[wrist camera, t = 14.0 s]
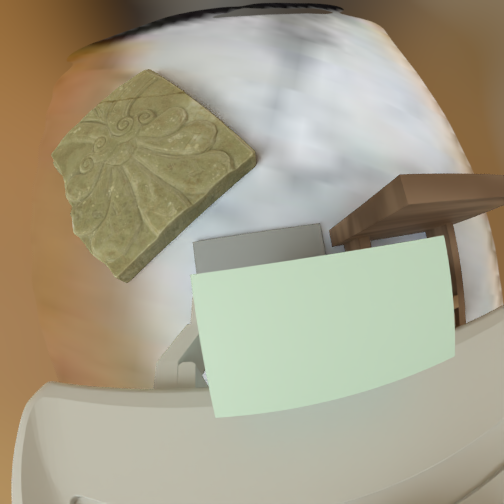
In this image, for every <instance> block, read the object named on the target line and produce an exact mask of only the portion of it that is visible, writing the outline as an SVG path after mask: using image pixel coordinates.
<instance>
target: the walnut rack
mask: <svg viewBox="0 0 504 504" xmlns="http://www.w3.org/2000/svg"><path fill="white" fill-rule="evenodd" d="M503 205H504V175H490V174H404V175H399V176H397V177H396V178H395V179H394V180H392V181H391V182H390V183H389V184H388V185H386V186H385V187H384V188H383V189H381V190H380V191H379V192H378V193H376V194H375V195H374V196H373V197H371V198H370V199H369V200H368V201H366V202H365V203H364V204H362V205H361V206H360V207H359V208H357V209H356V210H355V211H354V212H352V213H351V214H350V215H348V216H347V217H346V218H345V219H343V220H342V221H341V222H339V223H338V224H337V225H336V226H334V227H333V228H332V229H330V230H329V233H330V238H331V243H332V247H333V246H340V245H344V248H345V252H348V251H354V250H360V249H366V248H371V242H370V241H371V240H378V239H384V238H390V237H396V236H402V235H409V234H415V233H421V232H426V236H427V238H431V237H437V236H443V235H444V238H445V244H446V249H447V255H448V261H449V268H450V275H451V284H452V293H453V295H458V303H459V307H458V308H455V309H454V313H455V324H456V325H458V326H461V325H463V324H466V318H465V302H464V290H463V281H462V273H461V266H460V259H459V253H458V248H457V242H456V237H455V232H454V228H453V224H456V223H458V222H461V221H464V220H467V219H469V218H472V217H475V216H477V215H480V214H482V213H485V212H488V211H490V210H493V209H495V208H498V207H500V206H503Z"/></svg>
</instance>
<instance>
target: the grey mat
mask: <svg viewBox="0 0 504 504" xmlns="http://www.w3.org/2000/svg"><path fill="white" fill-rule="evenodd" d="M193 249H194V257H195V265H196V273H197V274H201V273H208V272H215V271H222V270H229V269H236V268H243V267H250V266H257V265H263V264H270V263H277V262H283V261H290V260H297V259H303V258H310V257H316V256H322V255H325V250H324V244H323V239H322V233H321V228H320V223H319V224H312V225H304V226H297V227H290V228H283V229H276V230H269V231H262V232H255V233H249V234H242V235H235V236H229V237H222V238H216V239H209V240H203V241H197V242H193Z"/></svg>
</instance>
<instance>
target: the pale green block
mask: <svg viewBox="0 0 504 504" xmlns="http://www.w3.org/2000/svg"><path fill="white" fill-rule="evenodd" d="M190 276H191V284H192V291H193V298H194V305H195V312H196V319H197V325H198V331H199V337H200V343H201V349H202V354H203V360H204V365H205V371H206V376H207V381H208V386H209V391H210V395H211V400H212V405H213V409H214V414H215V418H221V417H234V416H244V415H253V414H261V413H268V412H275V411H282V410H287V409H293V408H299V407H304V406H309V405H313V404H318V403H322V402H327V401H331V400H335V399H339V398H343V397H347V396H350V395H354V394H357V393H361V392H364V391H368V390H371V389H374V388H377V387H380V386H383V385H386V384H389V383H392V382H395V381H397V380H400V379H403V378H406V377H408V376H411V375H413V374H416V373H418V372H421V371H423V370H426V369H428V368H430V367H433V366H435V365H437V364H439V363H442V362H444V361H446V360H448V359H450V358H452V357H454V356H455V322H454V305H453V293H452V284H451V275H450V268H449V261H448V255H447V249H446V244H445V238H444V235H443V236H437V237H431V238H425V239H420V240H414V241H408V242H402V243H396V244H390V245H384V246H378V247H372V248H366V249H360V250H354V251H348V252H341V253H335V254H329V255H322V256H316V257H310V258H303V259H297V260H290V261H283V262H277V263H270V264H263V265H257V266H250V267H243V268H236V269H229V270H222V271H215V272H208V273H201V274H193V275H190Z"/></svg>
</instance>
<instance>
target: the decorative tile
mask: <svg viewBox="0 0 504 504" xmlns="http://www.w3.org/2000/svg"><path fill="white" fill-rule="evenodd" d="M52 158H53V159H54V162H53V163H54V166H55V168H56V169H57V170H58V172H59V173H60V174H61V175H62V176H63V178H64V182H65V190H66V198H67V199H68V200H69V203H70V204H71V205H72V210H71V213H70V215H71V217H72V220H73V221H72V223H73V231H74V234H75V235H77V236H78V237H79V238H80V239H81V240H82V242H83V243H84V244H85V245H86V247H87V248H88V249H89V251H90V253H91V254H92V255H93V256H95V257H96V258H97V259H99V260H100V261H102V262H103V263H105V264H106V266H108V267H109V269H110V270H111V272H112V273H113V275H114V277H115V278H117V279H119V280H121V281H123V282H125V283H128V282H129V281H131V280H132V279H133V278H134V277H135V276H136V275H137V274H138V273H139V272H140V271H141V270H142V269H143V268H144V267H145V266H146V265H147V264H148V263H149V262H150V261H151V260H152V259H153V258H154V257H155V256H156V255H158V254H159V253H160V252H161V251H162V250H163V249H164V248H165V247H166V246H167V245H168V244H169V243H170V242H171V241H172V240H174V239H175V238H176V237H177V236H178V235H179V234H180V233H181V232H182V231H183V230H184V229H185V228H186V227H187V226H188V225H189V224H191V223H192V222H193V221H194V220H195V219H196V218H197V217H198V216H199V215H200V214H201V213H203V212H204V211H205V210H206V209H207V208H208V207H209V206H210V205H212V204H213V203H214V202H215V201H216V200H217V199H218V198H220V197H221V196H222V195H223V194H224V193H225V192H226V191H227V190H228V189H230V188H231V187H232V186H233V185H234V184H235V183H236V182H238V181H239V180H240V179H241V178H242V177H243V176H245V175H246V174H247V173H248V172H249V171H251V170H252V169H253V168H254V167H255V164H256V155H255V151H254V150H253V149H252V148H251V147H250V146H249V145H248V144H247V143H246V142H245V141H243V140H242V139H241V138H240V137H239V136H238V135H237V134H236V133H234V132H233V131H232V130H231V129H230V128H229V127H227V126H226V125H225V124H224V123H223V122H222V121H220V120H219V119H218V118H217V117H216V116H215V115H214V114H212V113H211V112H210V111H209V110H207V109H206V108H205V107H203V106H202V105H201V104H199V103H198V102H197V101H196V100H194V99H193V98H191V97H190V96H189V95H188V94H186V93H185V92H184V91H183V90H181V89H180V88H178V87H177V86H176V85H174V84H172V83H171V82H169V81H168V80H166V79H165V78H163V77H162V76H160V75H159V74H157V73H155V72H154V71H152V70H149V69H148V70H144V71H142V72H141V73H139V74H138V75H136V76H135V77H133V78H132V79H130V80H129V81H127V82H126V83H124V84H123V85H121V86H119V87H118V88H117V89H116V90H115V91H113V92H112V93H111V94H110V95H109V96H108V97H107V98H106V99H104V100H102V101H101V102H100V103H99V104H98V105H97V106H96V107H95V108H94V109H93V110H91V111H90V112H89V113H88V114H87V115H86V116H85V117H84V118H83V119H82V120H81V121H80V122H79V123H78V124H77V125H76V126H75V127H74V128H73V129H72V130H70V131H69V133H68V134H67V135H66V136H65V137H64V138H63V139H62V141H61V142H60V144H59V145H58V147H57V148H56V149H55V150H54V152H53V153H52Z"/></svg>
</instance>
